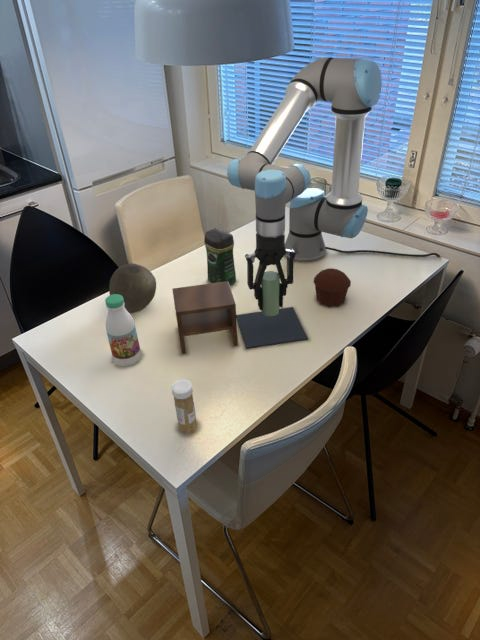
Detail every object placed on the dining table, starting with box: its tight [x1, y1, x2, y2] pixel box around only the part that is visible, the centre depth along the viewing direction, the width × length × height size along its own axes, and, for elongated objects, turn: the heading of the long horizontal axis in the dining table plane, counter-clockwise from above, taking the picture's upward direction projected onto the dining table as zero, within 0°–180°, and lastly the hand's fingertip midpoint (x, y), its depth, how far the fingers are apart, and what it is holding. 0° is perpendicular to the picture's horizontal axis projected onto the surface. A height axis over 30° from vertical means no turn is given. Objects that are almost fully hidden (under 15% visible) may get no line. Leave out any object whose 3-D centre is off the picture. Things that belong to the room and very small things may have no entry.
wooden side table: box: [171, 281, 239, 355], centre depth 139 cm, size 16×12×14 cm
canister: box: [260, 270, 281, 316], centre depth 139 cm, size 5×5×12 cm
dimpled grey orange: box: [108, 263, 157, 314], centre depth 152 cm, size 14×14×15 cm
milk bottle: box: [104, 294, 142, 367], centre depth 131 cm, size 8×8×20 cm
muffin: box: [312, 267, 352, 308], centre depth 154 cm, size 12×11×10 cm
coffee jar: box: [203, 227, 237, 287], centre depth 162 cm, size 10×8×19 cm
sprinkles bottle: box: [171, 379, 199, 435], centre depth 112 cm, size 5×5×14 cm
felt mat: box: [236, 306, 309, 350], centre depth 146 cm, size 18×16×1 cm
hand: (270, 306), depth 141 cm, fingers closed on canister, 5 cm apart
